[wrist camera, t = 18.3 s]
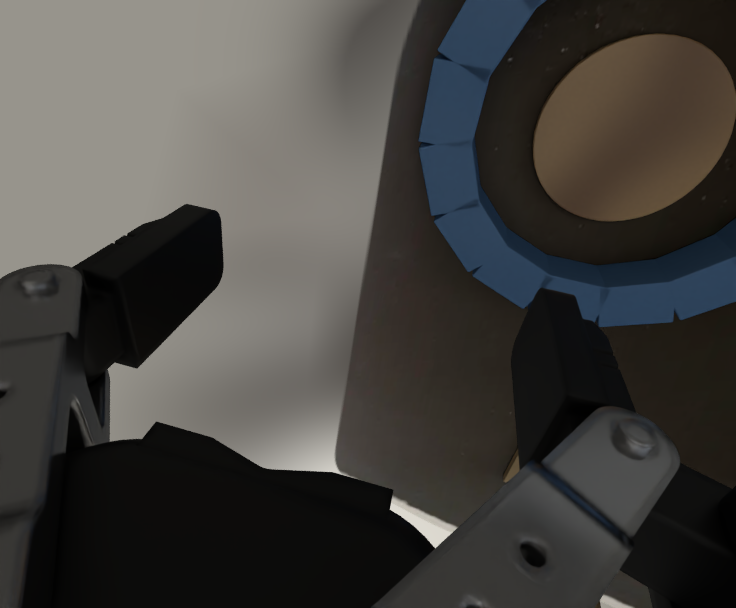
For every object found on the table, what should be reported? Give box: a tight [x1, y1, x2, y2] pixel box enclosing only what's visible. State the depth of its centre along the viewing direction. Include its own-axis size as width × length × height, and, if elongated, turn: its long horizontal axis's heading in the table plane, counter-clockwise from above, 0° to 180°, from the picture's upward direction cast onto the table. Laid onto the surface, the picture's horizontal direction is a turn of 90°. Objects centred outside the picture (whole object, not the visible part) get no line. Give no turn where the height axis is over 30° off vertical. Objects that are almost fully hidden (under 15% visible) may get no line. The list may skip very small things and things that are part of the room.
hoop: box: [418, 0, 736, 327], centre depth 24 cm, size 23×23×3 cm
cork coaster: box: [532, 33, 736, 221], centre depth 25 cm, size 10×10×1 cm
